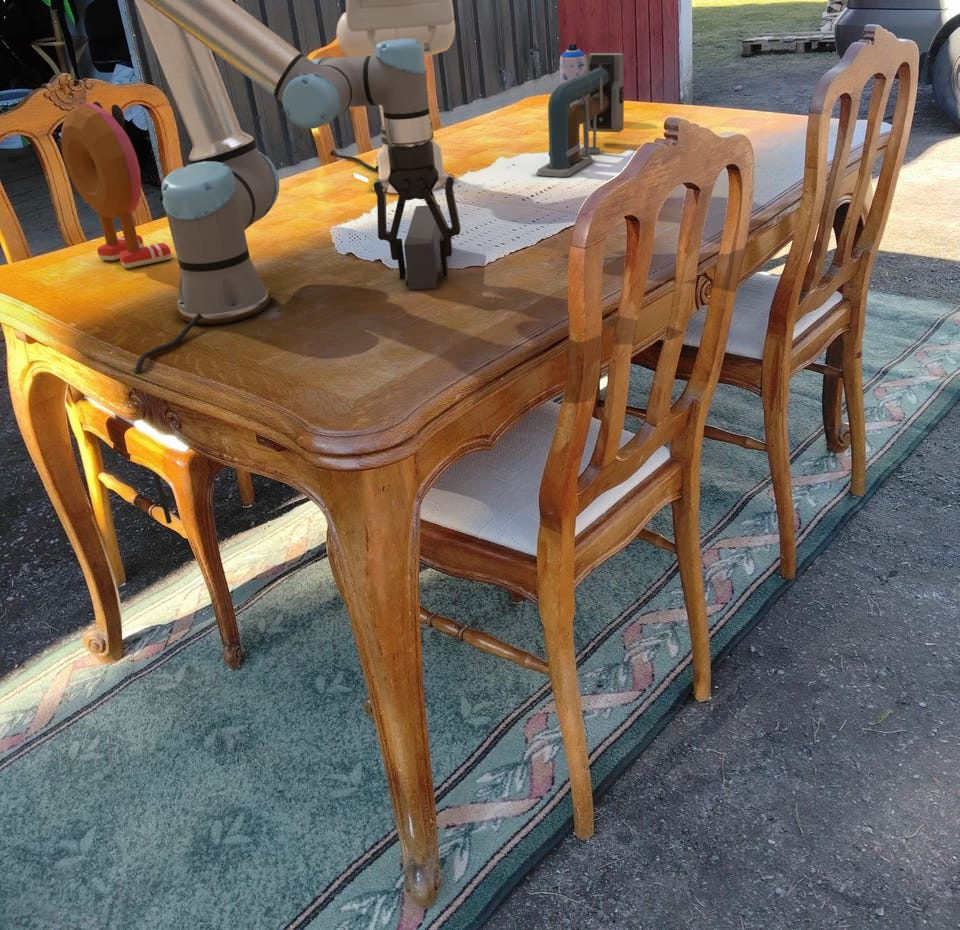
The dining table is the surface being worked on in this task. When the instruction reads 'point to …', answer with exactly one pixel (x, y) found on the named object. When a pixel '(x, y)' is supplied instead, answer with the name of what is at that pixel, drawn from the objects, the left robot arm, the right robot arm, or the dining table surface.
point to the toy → (108, 179)
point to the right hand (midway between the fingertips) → (404, 53)
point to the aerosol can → (572, 66)
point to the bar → (422, 250)
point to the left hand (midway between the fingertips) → (424, 275)
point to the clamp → (584, 113)
